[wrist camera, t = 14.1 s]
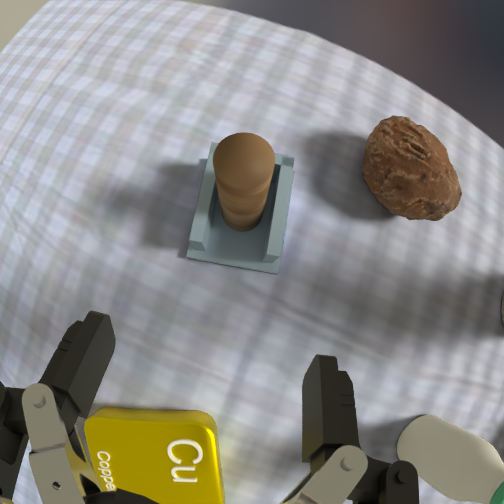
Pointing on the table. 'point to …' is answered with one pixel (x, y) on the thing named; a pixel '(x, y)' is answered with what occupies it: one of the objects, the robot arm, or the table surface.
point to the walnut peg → (243, 178)
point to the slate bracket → (249, 242)
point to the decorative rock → (410, 170)
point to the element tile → (157, 454)
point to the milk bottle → (453, 460)
